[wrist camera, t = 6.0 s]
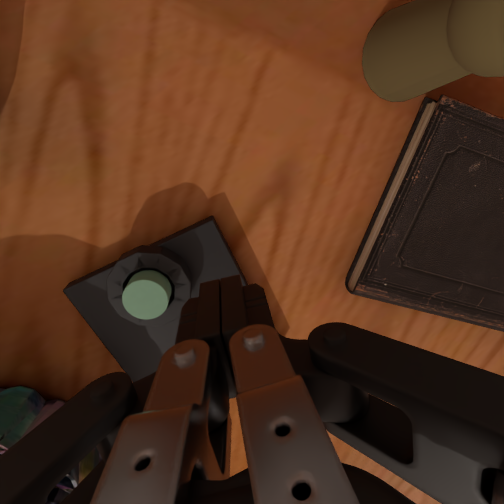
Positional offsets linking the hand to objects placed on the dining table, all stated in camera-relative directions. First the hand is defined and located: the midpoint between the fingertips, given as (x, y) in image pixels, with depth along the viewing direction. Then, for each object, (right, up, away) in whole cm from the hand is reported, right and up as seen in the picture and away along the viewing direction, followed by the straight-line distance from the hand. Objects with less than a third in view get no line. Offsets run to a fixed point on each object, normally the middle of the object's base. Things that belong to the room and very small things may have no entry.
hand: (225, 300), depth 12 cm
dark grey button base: (-5, -4, +17) cm, 18 cm away
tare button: (-7, -1, +12) cm, 14 cm away
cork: (+12, +16, +11) cm, 23 cm away
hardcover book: (+22, +3, +17) cm, 28 cm away
